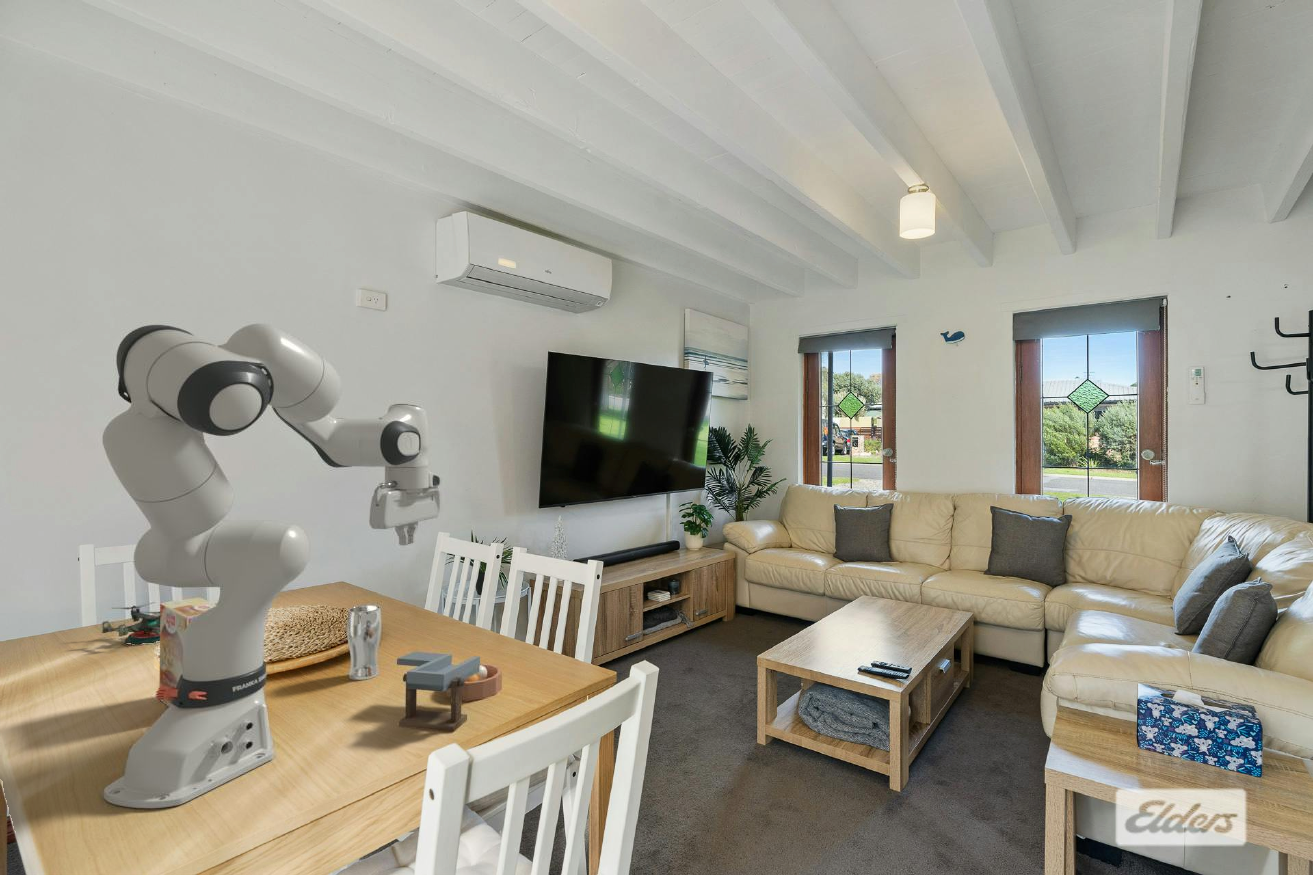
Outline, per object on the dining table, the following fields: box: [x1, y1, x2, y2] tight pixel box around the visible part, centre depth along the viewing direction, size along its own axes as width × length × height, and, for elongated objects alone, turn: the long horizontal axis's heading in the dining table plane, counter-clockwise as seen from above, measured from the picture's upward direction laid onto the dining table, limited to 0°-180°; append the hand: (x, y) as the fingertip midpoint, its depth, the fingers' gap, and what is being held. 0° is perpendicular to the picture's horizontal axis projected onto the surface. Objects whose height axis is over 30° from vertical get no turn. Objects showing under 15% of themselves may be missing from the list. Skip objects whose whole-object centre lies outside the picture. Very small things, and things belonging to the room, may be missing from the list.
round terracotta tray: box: [446, 662, 503, 702], centre depth 130 cm, size 11×11×4 cm
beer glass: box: [346, 604, 382, 681], centre depth 138 cm, size 7×7×15 cm
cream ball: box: [476, 665, 487, 681], centre depth 132 cm, size 4×4×4 cm
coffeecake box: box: [158, 596, 217, 708], centre depth 123 cm, size 15×7×20 cm, turn 53°
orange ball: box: [465, 674, 478, 682], centre depth 128 cm, size 4×4×4 cm
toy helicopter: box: [101, 601, 160, 644], centre depth 161 cm, size 20×15×8 cm
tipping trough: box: [396, 651, 481, 693], centre depth 119 cm, size 14×15×3 cm
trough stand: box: [398, 673, 468, 733], centre depth 115 cm, size 5×12×9 cm, turn 79°
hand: (406, 544), depth 132 cm, fingers closed
